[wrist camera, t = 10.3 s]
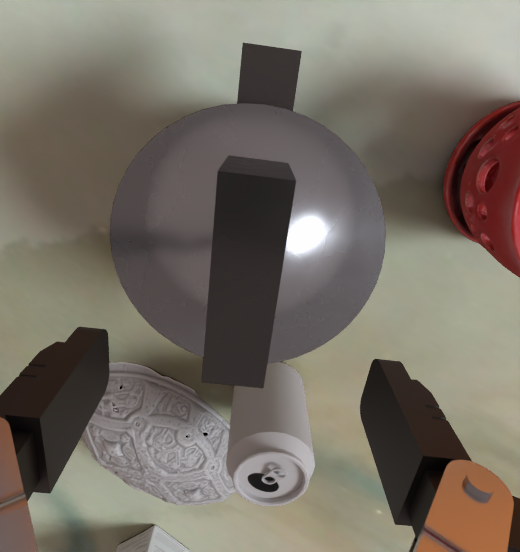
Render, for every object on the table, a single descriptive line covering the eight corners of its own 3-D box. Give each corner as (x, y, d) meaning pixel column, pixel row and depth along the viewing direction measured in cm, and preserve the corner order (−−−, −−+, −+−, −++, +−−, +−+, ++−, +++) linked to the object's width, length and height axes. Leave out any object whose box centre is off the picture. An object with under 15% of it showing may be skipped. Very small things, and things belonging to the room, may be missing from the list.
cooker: (169, 291, 37) (130, 368, 26) (177, 54, 29) (126, 22, 18) (312, 307, 38) (332, 390, 27) (358, 79, 30) (414, 64, 19)
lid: (116, 84, 19) (49, 74, 13) (408, 123, 20) (472, 131, 14) (122, 337, 25) (78, 409, 19) (347, 361, 26) (372, 438, 20)
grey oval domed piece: (112, 334, 39) (83, 383, 33) (287, 447, 47) (288, 503, 41) (42, 407, 45) (7, 460, 39) (207, 497, 53) (198, 552, 47)
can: (220, 389, 42) (205, 489, 31) (261, 343, 40) (260, 434, 29) (275, 420, 44) (279, 526, 33) (317, 378, 41) (337, 476, 30)
